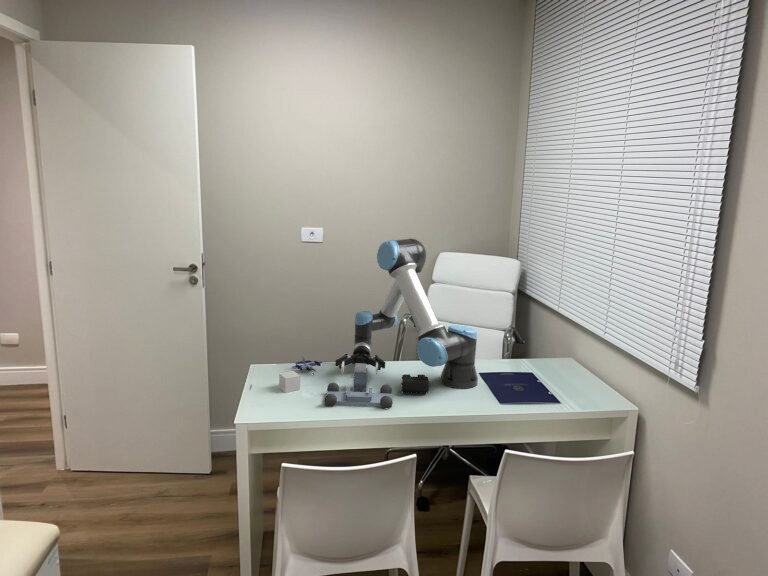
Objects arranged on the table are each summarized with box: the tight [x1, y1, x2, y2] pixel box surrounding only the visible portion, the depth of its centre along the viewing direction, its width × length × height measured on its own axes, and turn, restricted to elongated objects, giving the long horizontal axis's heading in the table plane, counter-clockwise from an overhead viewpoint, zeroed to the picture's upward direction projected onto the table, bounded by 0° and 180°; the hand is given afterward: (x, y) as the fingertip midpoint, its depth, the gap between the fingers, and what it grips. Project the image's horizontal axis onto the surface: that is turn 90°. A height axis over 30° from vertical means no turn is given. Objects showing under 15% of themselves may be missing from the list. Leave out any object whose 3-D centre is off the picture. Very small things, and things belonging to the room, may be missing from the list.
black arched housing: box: [400, 374, 430, 394], centre depth 221 cm, size 10×7×7 cm
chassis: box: [323, 382, 393, 409], centre depth 212 cm, size 24×12×4 cm, turn 90°
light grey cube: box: [278, 370, 301, 394], centre depth 220 cm, size 6×6×6 cm
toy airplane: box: [291, 355, 323, 376], centre depth 239 cm, size 13×14×4 cm
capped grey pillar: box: [352, 363, 368, 393], centre depth 222 cm, size 5×5×10 cm
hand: (359, 370), depth 226 cm, fingers open, 13 cm apart
